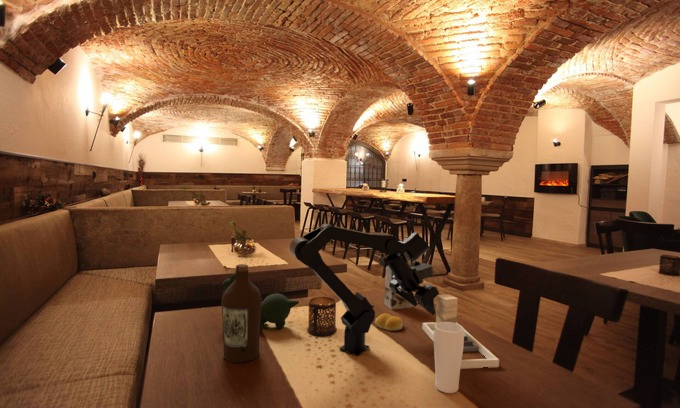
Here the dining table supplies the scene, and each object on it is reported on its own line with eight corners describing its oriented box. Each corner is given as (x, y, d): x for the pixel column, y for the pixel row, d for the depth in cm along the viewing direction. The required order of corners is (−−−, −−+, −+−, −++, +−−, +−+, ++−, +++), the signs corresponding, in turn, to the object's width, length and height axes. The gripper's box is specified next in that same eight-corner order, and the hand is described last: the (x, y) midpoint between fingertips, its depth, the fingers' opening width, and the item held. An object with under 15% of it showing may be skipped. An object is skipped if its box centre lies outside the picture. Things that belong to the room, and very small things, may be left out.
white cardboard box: (391, 310, 149) (392, 267, 148) (384, 304, 155) (385, 264, 154) (412, 307, 152) (414, 266, 151) (404, 302, 158) (406, 262, 157)
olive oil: (232, 345, 116) (233, 260, 114) (267, 348, 113) (267, 262, 112) (214, 361, 105) (214, 268, 103) (251, 366, 103) (252, 271, 101)
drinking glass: (439, 378, 99) (442, 319, 98) (466, 387, 95) (468, 326, 94) (427, 389, 94) (429, 327, 93) (454, 399, 89) (457, 334, 88)
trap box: (498, 367, 105) (499, 359, 105) (457, 368, 104) (457, 361, 104) (455, 327, 133) (456, 321, 133) (422, 328, 131) (422, 322, 131)
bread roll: (395, 333, 127) (395, 321, 127) (372, 326, 133) (372, 315, 132) (407, 326, 134) (408, 314, 134) (384, 320, 139) (385, 308, 139)
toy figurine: (221, 335, 127) (298, 332, 124) (216, 276, 125) (293, 273, 123) (231, 324, 136) (303, 321, 134) (227, 269, 135) (299, 266, 133)
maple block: (456, 335, 125) (457, 298, 125) (444, 337, 124) (445, 299, 123) (447, 330, 130) (448, 294, 129) (435, 332, 128) (437, 295, 127)
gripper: (440, 258, 112) (463, 301, 116) (404, 249, 129) (425, 286, 133) (411, 283, 108) (436, 326, 112) (378, 270, 126) (401, 307, 130)
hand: (424, 309), depth 122 cm, fingers open, 9 cm apart
